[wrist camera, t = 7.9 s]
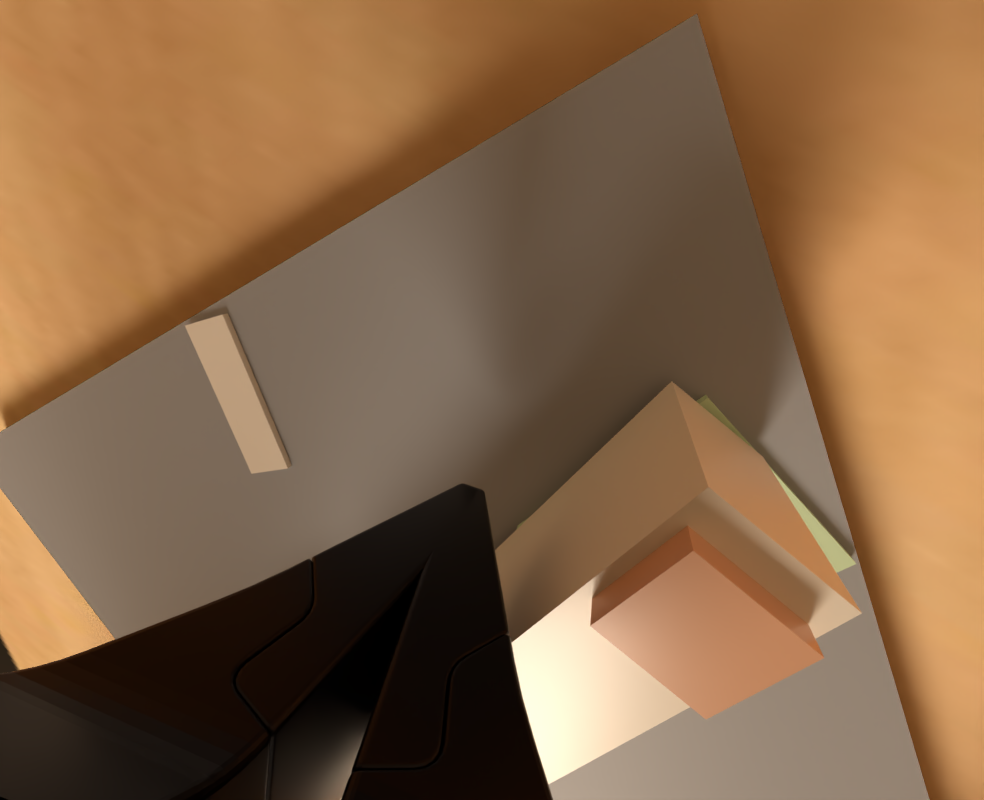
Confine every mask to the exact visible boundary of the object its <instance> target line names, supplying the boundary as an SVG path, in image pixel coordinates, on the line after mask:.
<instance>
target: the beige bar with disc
mask: <svg viewBox="0 0 984 800" xmlns="http://www.w3.org/2000/svg"><path fill="white" fill-rule="evenodd" d="M495 553H496V559H497V565H498V570H499V576H500V582H501V587H502V593H503V599H504V604H505V610H506V616H507V621H508V627H509V636H510V638H511V642H512V648H513V654H514V659H515V664H516V669H517V674H518V678H519V683H520V688H521V692H522V697H523V700H524V704H525V708H526V711H527V715H528V718H529V722H530V725H531V729H532V732H533V736H534V739H535V743H536V746H537V749H538V752H539V756H540V759H541V762H542V765H543V768H544V772H545V775H546V778H547V781H548V784H550V783H552V782H554V781H556V780H558V779H559V778H561V777H563V776H565V775H567V774H569V773H570V772H572V771H574V770H576V769H578V768H580V767H581V766H583V765H585V764H587V763H589V762H591V761H592V760H594V759H596V758H598V757H600V756H602V755H603V754H605V753H607V752H609V751H611V750H613V749H614V748H616V747H618V746H620V745H622V744H624V743H625V742H627V741H629V740H631V739H633V738H635V737H636V736H638V735H640V734H642V733H644V732H646V731H647V730H649V729H651V728H653V727H655V726H657V725H658V724H660V723H662V722H664V721H666V720H668V719H669V718H671V717H673V716H675V715H677V714H679V713H680V712H682V711H684V710H686V709H688V708H690V707H691V708H692V709H693V710H695V711H696V712H697V713H698V714H700V715H701V716H702V717H703V718H704V719H708V718H710V717H712V716H714V715H716V714H718V713H720V712H722V711H724V710H726V709H727V708H729V707H731V706H733V705H735V704H737V703H739V702H741V701H743V700H745V699H747V698H749V697H750V696H752V695H754V694H756V693H758V692H760V691H762V690H764V689H766V688H768V687H770V686H772V685H773V684H775V683H777V682H779V681H781V680H783V679H785V678H787V677H789V676H791V675H793V674H795V673H797V672H798V671H800V670H802V669H804V668H806V667H808V666H810V665H812V664H814V663H816V662H818V661H820V660H821V659H823V658H824V656H823V654H822V652H821V650H820V648H819V645H818V643H817V641H816V638H818V637H820V636H821V635H823V634H825V633H827V632H829V631H831V630H832V629H834V628H836V627H838V626H840V625H842V624H843V623H845V622H847V621H849V620H851V619H853V618H854V617H856V616H858V615H860V614H862V612H861V611H860V609H859V608H858V606H857V604H856V603H855V601H854V600H853V598H852V597H851V595H850V593H849V592H848V590H847V589H846V587H845V586H844V584H843V582H842V581H841V579H840V578H839V576H838V574H837V573H836V571H835V570H834V568H833V567H832V565H831V563H830V562H829V560H828V559H827V557H826V556H825V554H824V552H823V551H822V549H821V548H820V546H819V544H818V543H817V541H816V540H815V538H814V537H813V535H812V533H811V532H810V530H809V529H808V527H807V525H806V524H805V522H804V521H803V519H802V518H801V516H800V514H799V513H798V511H797V510H796V508H795V507H794V505H793V503H792V502H791V500H790V499H789V497H788V495H787V494H786V492H785V491H784V489H783V488H782V486H781V484H780V483H779V481H778V480H777V478H776V477H775V475H774V473H773V472H772V470H771V469H770V467H769V465H768V464H767V462H766V461H765V459H764V458H763V456H761V455H760V454H759V453H758V452H757V451H755V450H754V449H753V448H752V447H751V446H749V445H748V444H747V443H746V442H745V441H743V440H742V439H741V438H740V437H738V436H737V435H736V434H735V433H734V432H732V431H731V430H730V429H729V428H728V427H726V426H725V425H724V424H723V423H722V422H720V421H719V420H718V419H717V418H716V417H714V416H713V415H712V414H711V413H710V412H708V411H707V410H706V409H705V408H703V407H702V406H701V405H700V404H699V403H697V402H696V401H695V400H694V399H693V398H691V397H690V396H689V395H688V394H687V393H685V392H684V391H683V390H682V389H681V388H679V387H678V386H677V385H676V384H675V383H673V382H672V381H671V382H670V383H669V384H668V385H667V386H666V387H665V388H664V389H663V390H662V391H661V392H660V393H659V394H658V395H657V396H656V397H655V398H654V399H653V400H652V401H650V402H649V403H648V404H647V405H646V406H645V407H644V408H643V409H642V410H641V411H640V412H639V413H638V414H637V415H636V416H635V417H634V418H633V419H632V420H631V421H630V422H629V423H627V424H626V425H625V426H624V427H623V428H622V429H621V430H620V431H619V432H618V433H617V434H616V435H615V436H614V437H613V438H612V439H611V440H610V441H609V442H608V443H607V444H606V445H604V446H603V447H602V448H601V449H600V450H599V451H598V452H597V453H596V454H595V455H594V456H593V457H592V458H591V459H590V460H589V461H588V462H587V463H586V464H585V465H584V466H583V467H581V468H580V469H579V470H578V471H577V472H576V473H575V474H574V475H573V476H572V477H571V478H570V479H569V480H568V481H567V482H566V483H565V484H564V485H563V486H562V487H561V488H560V489H558V490H557V491H556V492H555V493H554V494H553V495H552V496H551V497H550V498H549V499H548V500H547V501H546V502H545V503H544V504H543V505H542V506H541V507H540V508H539V509H538V510H537V511H536V512H534V513H533V514H532V515H531V516H530V517H529V518H528V519H527V520H526V521H525V522H524V523H523V524H522V525H521V526H520V527H519V528H518V529H517V530H516V531H515V532H514V533H513V534H511V535H510V536H509V537H508V538H507V539H506V540H505V541H504V542H503V543H502V544H501V545H500V546H499V547H498V548H497V549H496V550H495ZM340 800H341V799H340Z"/></svg>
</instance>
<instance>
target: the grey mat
mask: <svg viewBox="0 0 984 800" xmlns="http://www.w3.org/2000/svg"><path fill="white" fill-rule="evenodd" d="M671 381H672V382H673V383H675V384H676V385H677V386H678V387H679V388H681V389H682V390H683V391H684V392H685V393H687V394H688V395H689V396H690V397H691V398H693V399H694V400H695V401H696V402H697V403H699V404H700V405H701V406H702V407H703V408H705V409H706V410H707V411H708V412H710V413H711V414H712V415H713V416H714V417H716V418H717V419H718V420H719V421H720V422H722V423H723V424H724V425H725V426H726V427H728V428H729V429H730V430H731V431H732V432H734V433H735V434H736V435H737V436H738V437H740V438H741V439H742V440H743V441H745V442H746V443H747V444H748V445H749V446H751V447H752V448H753V449H754V450H755V451H757V452H758V453H759V454H760V455H761V456H763V458H764V459H765V461H766V462H767V464H768V465H769V467H770V469H771V470H772V472H773V473H774V475H775V477H776V478H777V480H778V481H779V483H780V484H781V486H782V488H783V489H784V491H785V492H786V494H787V495H788V497H789V499H790V500H791V502H792V503H793V505H794V507H795V508H796V510H797V511H798V513H799V514H800V516H801V518H802V519H803V521H804V522H805V524H806V525H807V527H808V529H809V530H810V532H811V533H812V535H813V537H814V538H815V540H816V541H817V543H818V544H819V546H820V548H821V549H822V551H823V552H824V554H825V556H826V557H827V559H828V560H829V562H830V563H831V565H832V567H833V568H834V570H835V571H836V573H837V574H838V576H839V578H840V579H841V581H842V582H843V584H844V586H845V587H846V589H847V590H848V592H849V593H850V595H851V597H852V598H853V600H854V601H855V603H856V604H857V606H858V608H859V609H860V611H861V612H862V614H860V615H858V616H856V617H854V618H853V619H851V620H849V621H847V622H845V623H843V624H842V625H840V626H838V627H836V628H834V629H832V630H831V631H829V632H827V633H825V634H823V635H821V636H820V637H818V638H816V641H817V643H818V645H819V648H820V650H821V652H822V654H823V656H824V658H823V659H821V660H820V661H818V662H816V663H814V664H812V665H810V666H808V667H806V668H804V669H802V670H800V671H798V672H797V673H795V674H793V675H791V676H789V677H787V678H785V679H783V680H781V681H779V682H777V683H775V684H773V685H772V686H770V687H768V688H766V689H764V690H762V691H760V692H758V693H756V694H754V695H752V696H750V697H749V698H747V699H745V700H743V701H741V702H739V703H737V704H735V705H733V706H731V707H729V708H727V709H726V710H724V711H722V712H720V713H718V714H716V715H714V716H712V717H710V718H708V719H704V718H703V717H702V716H701V715H700V714H698V713H697V712H696V711H695V710H693V709H692V708H691V707H690V708H688V709H686V710H684V711H682V712H680V713H679V714H677V715H675V716H673V717H671V718H669V719H668V720H666V721H664V722H662V723H660V724H658V725H657V726H655V727H653V728H651V729H649V730H647V731H646V732H644V733H642V734H640V735H638V736H636V737H635V738H633V739H631V740H629V741H627V742H625V743H624V744H622V745H620V746H618V747H616V748H614V749H613V750H611V751H609V752H607V753H605V754H603V755H602V756H600V757H598V758H596V759H594V760H592V761H591V762H589V763H587V764H585V765H583V766H581V767H580V768H578V769H576V770H574V771H572V772H570V773H569V774H567V775H565V776H563V777H561V778H559V779H558V780H556V781H554V782H552V783H550V784H548V785H549V788H550V791H551V794H552V797H553V800H930V799H929V796H928V793H927V789H926V786H925V782H924V779H923V776H922V772H921V769H920V766H919V762H918V759H917V755H916V752H915V749H914V745H913V742H912V739H911V735H910V732H909V728H908V725H907V722H906V718H905V715H904V711H903V708H902V705H901V701H900V698H899V695H898V691H897V688H896V684H895V681H894V678H893V674H892V671H891V668H890V664H889V661H888V657H887V654H886V651H885V647H884V644H883V641H882V637H881V634H880V630H879V627H878V624H877V620H876V617H875V613H874V610H873V607H872V603H871V600H870V597H869V593H868V590H867V586H866V583H865V580H864V576H863V573H862V570H861V566H860V563H859V559H858V556H857V553H856V549H855V546H854V543H853V539H852V536H851V532H850V529H849V526H848V522H847V519H846V516H845V512H844V509H843V505H842V502H841V499H840V495H839V492H838V488H837V485H836V482H835V478H834V475H833V472H832V468H831V465H830V461H829V458H828V455H827V451H826V448H825V445H824V441H823V438H822V434H821V431H820V428H819V424H818V421H817V418H816V414H815V411H814V407H813V404H812V401H811V397H810V394H809V390H808V387H807V384H806V380H805V377H804V374H803V370H802V367H801V363H800V360H799V357H798V353H797V350H796V347H795V343H794V340H793V336H792V333H791V330H790V326H789V323H788V320H787V316H786V313H785V309H784V306H783V303H782V299H781V296H780V293H779V289H778V286H777V282H776V279H775V276H774V272H773V269H772V265H771V262H770V259H769V255H768V252H767V249H766V245H765V242H764V238H763V235H762V232H761V228H760V225H759V222H758V218H757V215H756V211H755V208H754V205H753V201H752V198H751V195H750V191H749V188H748V184H747V181H746V178H745V174H744V171H743V167H742V164H741V161H740V157H739V154H738V151H737V147H736V144H735V140H734V137H733V134H732V130H731V127H730V124H729V120H728V117H727V113H726V110H725V107H724V103H723V100H722V97H721V93H720V90H719V86H718V83H717V80H716V76H715V73H714V69H713V66H712V63H711V59H710V56H709V53H708V49H707V46H706V42H705V39H704V36H703V32H702V29H701V26H700V22H699V19H698V15H697V14H695V15H694V16H692V17H690V18H689V19H687V20H685V21H684V22H682V23H680V24H679V25H677V26H675V27H674V28H672V29H670V30H669V31H667V32H665V33H664V34H662V35H660V36H659V37H657V38H656V39H654V40H652V41H651V42H649V43H647V44H646V45H644V46H642V47H641V48H639V49H637V50H636V51H634V52H632V53H631V54H629V55H627V56H626V57H624V58H622V59H621V60H619V61H617V62H616V63H614V64H612V65H611V66H609V67H607V68H606V69H604V70H602V71H601V72H599V73H597V74H596V75H594V76H592V77H591V78H589V79H587V80H586V81H584V82H582V83H581V84H579V85H577V86H576V87H574V88H572V89H571V90H569V91H567V92H566V93H564V94H562V95H561V96H559V97H557V98H556V99H554V100H552V101H551V102H549V103H547V104H546V105H544V106H542V107H541V108H539V109H537V110H536V111H534V112H532V113H531V114H529V115H527V116H526V117H524V118H522V119H521V120H519V121H517V122H516V123H514V124H512V125H511V126H509V127H507V128H506V129H504V130H502V131H501V132H499V133H497V134H496V135H494V136H492V137H491V138H489V139H487V140H486V141H484V142H482V143H481V144H479V145H477V146H476V147H474V148H472V149H471V150H469V151H467V152H466V153H464V154H462V155H461V156H459V157H457V158H456V159H454V160H452V161H451V162H449V163H447V164H446V165H444V166H442V167H441V168H439V169H437V170H436V171H434V172H432V173H431V174H429V175H427V176H426V177H424V178H422V179H421V180H419V181H417V182H416V183H414V184H412V185H411V186H409V187H407V188H406V189H404V190H402V191H401V192H399V193H397V194H396V195H394V196H392V197H391V198H389V199H387V200H386V201H384V202H382V203H381V204H379V205H377V206H376V207H374V208H372V209H371V210H369V211H367V212H366V213H364V214H362V215H361V216H359V217H357V218H356V219H354V220H352V221H351V222H349V223H347V224H346V225H344V226H342V227H341V228H339V229H337V230H336V231H334V232H332V233H331V234H329V235H327V236H326V237H324V238H322V239H321V240H319V241H317V242H316V243H314V244H312V245H311V246H309V247H307V248H306V249H304V250H302V251H301V252H299V253H297V254H296V255H294V256H292V257H291V258H289V259H287V260H286V261H284V262H282V263H281V264H279V265H278V266H276V267H274V268H273V269H271V270H269V271H268V272H266V273H264V274H263V275H261V276H259V277H258V278H256V279H254V280H253V281H251V282H249V283H248V284H246V285H244V286H243V287H241V288H239V289H238V290H236V291H234V292H233V293H231V294H229V295H228V296H226V297H224V298H223V299H221V300H219V301H218V302H216V303H214V304H213V305H211V306H209V307H208V308H206V309H204V310H203V311H201V312H199V313H198V314H196V315H194V316H193V317H191V318H189V319H188V320H186V321H184V322H183V323H181V324H179V325H178V326H176V327H174V328H173V329H171V330H169V331H168V332H166V333H164V334H163V335H161V336H159V337H158V338H156V339H154V340H153V341H151V342H149V343H148V344H146V345H144V346H143V347H141V348H139V349H138V350H136V351H134V352H133V353H131V354H129V355H128V356H126V357H124V358H123V359H121V360H119V361H118V362H116V363H114V364H113V365H111V366H109V367H108V368H106V369H104V370H103V371H101V372H99V373H98V374H96V375H94V376H93V377H91V378H89V379H88V380H86V381H84V382H83V383H81V384H79V385H78V386H76V387H74V388H73V389H71V390H69V391H68V392H66V393H64V394H63V395H61V396H59V397H58V398H56V399H54V400H53V401H51V402H49V403H48V404H46V405H44V406H43V407H41V408H39V409H38V410H36V411H34V412H33V413H31V414H29V415H28V416H26V417H24V418H23V419H21V420H19V421H18V422H16V423H14V424H13V425H11V426H9V427H8V428H6V429H4V430H3V431H1V432H0V489H1V490H2V491H3V492H4V494H5V495H6V496H7V498H8V499H9V500H10V502H11V503H12V504H13V506H14V507H15V508H16V509H17V511H18V512H19V513H20V515H21V516H22V517H23V519H24V520H25V521H26V523H27V524H28V525H29V527H30V528H31V529H32V530H33V532H34V533H35V534H36V536H37V537H38V538H39V540H40V541H41V542H42V544H43V545H44V546H45V547H46V549H47V550H48V551H49V553H50V554H51V555H52V557H53V558H54V559H55V561H56V562H57V563H58V565H59V566H60V567H61V568H62V570H63V571H64V572H65V574H66V575H67V576H68V578H69V579H70V580H71V582H72V583H73V584H74V585H75V587H76V588H77V589H78V591H79V592H80V593H81V595H82V596H83V597H84V599H85V600H86V601H87V603H88V604H89V605H90V606H91V608H92V609H93V610H94V612H95V613H96V614H97V616H98V617H99V618H100V620H101V621H102V622H103V624H104V625H105V626H106V627H107V629H108V630H109V631H110V633H111V634H112V635H113V637H114V638H115V639H118V638H120V637H123V636H125V635H128V634H131V633H133V632H136V631H138V630H141V629H144V628H146V627H149V626H151V625H154V624H156V623H159V622H162V621H164V620H167V619H169V618H172V617H175V616H177V615H180V614H182V613H185V612H187V611H190V610H193V609H195V608H198V607H200V606H203V605H206V604H208V603H210V602H213V601H215V600H218V599H220V598H223V597H225V596H227V595H230V594H232V593H235V592H237V591H240V590H242V589H244V588H247V587H249V586H252V585H254V584H256V583H258V582H260V581H262V580H264V579H267V578H269V577H271V576H273V575H275V574H277V573H280V572H282V571H284V570H286V569H288V568H290V567H292V566H294V565H296V564H298V563H300V562H302V561H304V560H306V559H310V560H312V557H313V556H315V555H317V554H319V553H321V552H323V551H325V550H327V549H329V548H331V547H333V546H335V545H337V544H339V543H341V542H343V541H345V540H347V539H349V538H351V537H353V536H355V535H357V534H359V533H361V532H363V531H365V530H367V529H369V528H371V527H373V526H375V525H377V524H379V523H381V522H383V521H385V520H387V519H389V518H391V517H393V516H395V515H397V514H400V513H402V512H404V511H406V510H408V509H410V508H412V507H414V506H416V505H418V504H420V503H422V502H424V501H426V500H428V499H430V498H432V497H434V496H436V495H438V494H440V493H442V492H444V491H446V490H448V489H450V488H452V487H454V486H456V485H458V484H461V483H464V484H467V485H470V486H473V487H476V488H479V489H482V490H483V491H484V492H485V496H486V502H487V508H488V513H489V519H490V525H491V530H492V536H493V542H494V548H495V550H496V549H497V548H498V547H499V546H500V545H501V544H502V543H503V542H504V541H505V540H506V539H507V538H508V537H509V536H510V535H511V534H513V533H514V532H515V531H516V530H517V529H518V528H519V527H520V526H521V525H522V524H523V523H524V522H525V521H526V520H527V519H528V518H529V517H530V516H531V515H532V514H533V513H534V512H536V511H537V510H538V509H539V508H540V507H541V506H542V505H543V504H544V503H545V502H546V501H547V500H548V499H549V498H550V497H551V496H552V495H553V494H554V493H555V492H556V491H557V490H558V489H560V488H561V487H562V486H563V485H564V484H565V483H566V482H567V481H568V480H569V479H570V478H571V477H572V476H573V475H574V474H575V473H576V472H577V471H578V470H579V469H580V468H581V467H583V466H584V465H585V464H586V463H587V462H588V461H589V460H590V459H591V458H592V457H593V456H594V455H595V454H596V453H597V452H598V451H599V450H600V449H601V448H602V447H603V446H604V445H606V444H607V443H608V442H609V441H610V440H611V439H612V438H613V437H614V436H615V435H616V434H617V433H618V432H619V431H620V430H621V429H622V428H623V427H624V426H625V425H626V424H627V423H629V422H630V421H631V420H632V419H633V418H634V417H635V416H636V415H637V414H638V413H639V412H640V411H641V410H642V409H643V408H644V407H645V406H646V405H647V404H648V403H649V402H650V401H652V400H653V399H654V398H655V397H656V396H657V395H658V394H659V393H660V392H661V391H662V390H663V389H664V388H665V387H666V386H667V385H668V384H669V383H670V382H671Z"/></svg>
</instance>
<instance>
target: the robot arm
mask: <svg viewBox="0 0 984 800" xmlns="http://www.w3.org/2000/svg"><path fill="white" fill-rule="evenodd" d="M340 799H341V800H553V797H552V794H551V791H550V788H549V785H548V781H547V778H546V775H545V772H544V768H543V765H542V762H541V759H540V756H539V752H538V749H537V746H536V743H535V739H534V736H533V732H532V729H531V725H530V722H529V718H528V715H527V711H526V708H525V704H524V700H523V697H522V692H521V688H520V683H519V678H518V674H517V669H516V664H515V659H514V654H513V648H512V642H511V638H510V636H509V627H508V621H507V616H506V610H505V604H504V599H503V593H502V587H501V582H500V576H499V570H498V565H497V559H496V553H495V548H494V542H493V536H492V530H491V525H490V519H489V513H488V508H487V502H486V496H485V492H484V491H483V490H482V489H479V488H476V487H473V486H470V485H467V484H464V483H461V484H458V485H456V486H454V487H452V488H450V489H448V490H446V491H444V492H442V493H440V494H438V495H436V496H434V497H432V498H430V499H428V500H426V501H424V502H422V503H420V504H418V505H416V506H414V507H412V508H410V509H408V510H406V511H404V512H402V513H400V514H397V515H395V516H393V517H391V518H389V519H387V520H385V521H383V522H381V523H379V524H377V525H375V526H373V527H371V528H369V529H367V530H365V531H363V532H361V533H359V534H357V535H355V536H353V537H351V538H349V539H347V540H345V541H343V542H341V543H339V544H337V545H335V546H333V547H331V548H329V549H327V550H325V551H323V552H321V553H319V554H317V555H315V556H313V557H312V560H310V559H306V560H304V561H302V562H300V563H298V564H296V565H294V566H292V567H290V568H288V569H286V570H284V571H282V572H280V573H277V574H275V575H273V576H271V577H269V578H267V579H264V580H262V581H260V582H258V583H256V584H254V585H252V586H249V587H247V588H244V589H242V590H240V591H237V592H235V593H232V594H230V595H227V596H225V597H223V598H220V599H218V600H215V601H213V602H210V603H208V604H206V605H203V606H200V607H198V608H195V609H193V610H190V611H187V612H185V613H182V614H180V615H177V616H175V617H172V618H169V619H167V620H164V621H162V622H159V623H156V624H154V625H151V626H149V627H146V628H144V629H141V630H138V631H136V632H133V633H131V634H128V635H125V636H123V637H120V638H118V639H115V640H113V641H110V642H107V643H105V644H102V645H100V646H97V647H95V648H92V649H89V650H87V651H84V652H81V653H78V654H76V655H73V656H70V657H67V658H64V659H61V660H58V661H54V662H51V663H47V664H44V665H40V666H37V667H32V668H28V669H23V670H18V671H14V672H8V673H1V674H0V800H340Z"/></svg>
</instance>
